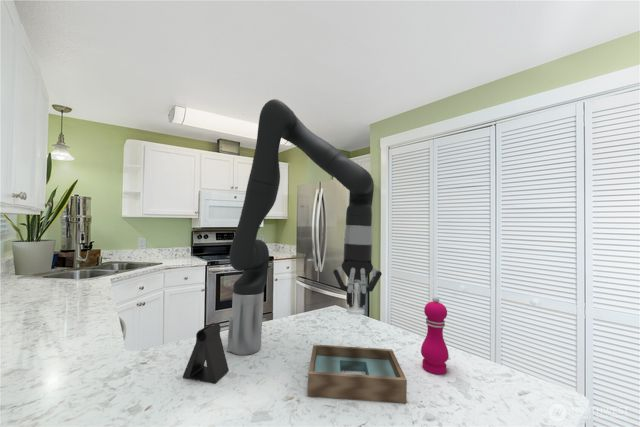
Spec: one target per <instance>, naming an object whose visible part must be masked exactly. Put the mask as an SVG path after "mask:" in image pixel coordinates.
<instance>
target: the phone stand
mask: <svg viewBox="0 0 640 427" xmlns="http://www.w3.org/2000/svg"><path fill="white" fill-rule="evenodd" d="M221 328H222V327H221V324H220V323H219V322H216V323H215V322H212V323H210V324H209V325H206V326H205V327H203V328H201V329H200V330H198V331H197V332H196V333H195V334H196V335H195V338H196V339H195V340H196V341H195V345H194V347H193V349H192V352H191V354H190V357H189V359H188V362H187V364H186V367H185V369H184V372H183V375H182V378H183V379H186V380H190V381H197V382H198V381H199V382H203V383H209V384H217V382H218V381H220V380H221V379H222V378H223V377H224V376H225V375H226V374H227V373H228V372H229V371H230V370H229V366H228V362H227V358H226V357H227V356H226V354H225V350H224V345H223V342H222V337H221ZM205 364H206V365H205Z"/></svg>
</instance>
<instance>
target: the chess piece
mask: <svg viewBox="0 0 640 427" xmlns="http://www.w3.org/2000/svg"><path fill="white" fill-rule="evenodd" d="M359 289H360V281H359V280H354V282H353V289H352V293H354V295H353V298H352V307H349V306H348V307H347V308H346V311H345V312H346V313H347V314H349V315H353V316H354V315H355V316H360V315H361V316H362V315H365V313H366V312H365V309H364V308H362V307H360V306H359V294H360V292H361V290H359Z"/></svg>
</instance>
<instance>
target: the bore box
mask: <svg viewBox="0 0 640 427" xmlns="http://www.w3.org/2000/svg"><path fill="white" fill-rule="evenodd" d="M311 351H312V352H311V357H310V362H309V368H308V373H307V374H308V376H307V395H306V396H307V397H312V398H313V397H314V398H327V399H329V398H330V399H340V400H341V399H342V400H354V401H357V400H358V401H367V402H368V401H369V402H381V403H382V402H384V403H397V404H398V403H399V404H407V390H408V389H407V388H408V387H407V386H408V380H407V377H406V375H405V373H404V371H403V369H402V367H401V365H400V363H399V361H398V358H397V357H396V354H395V352H394V350H393V349H391V348H389V349H388V348H375V347H363V346H362V347H361V346H359V347H356V346H344V345H343V346H342V345H328V344H312V350H311ZM341 371H351V372H352V371H354V372H355V371H356V372H365V374H355V373H354V374H352V373H341Z"/></svg>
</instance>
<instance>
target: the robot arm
mask: <svg viewBox="0 0 640 427" xmlns="http://www.w3.org/2000/svg"><path fill="white" fill-rule="evenodd" d="M256 135H257V137H256V144H255V149H254V154H253V159H252V163H251V168H250V173H249V176H248V180H247V181H248V182H247V186H246V189H245V190H246V191H245V196H244V200H243V205H242V209H241V212H240V217H239V221H238V223H237V227H236V230H235V233H234V236H233V239H232V242H231V245H230V249H229V263H230V265H231V267H232V268H233V269H234V270H235V271H238V272H243V273H242V274H241V276H240V277H239V278H238V279H237V280H235V281H234V283H233V286H232V288H233V289H232V300H231V301H232V302H231V304H232V305H231V306H232V308H231V317H230V318H229V319H228V333H227V349H226V350H227V352H229V353H232V354H235V355H240V356H241V355H242V356H243V355H244V356H246V355H248V356H249V355H252V354H255V353H257V352H259V351H260V350H261V347H262V335H263V334H262V331H263V313H264V312H263V311H264V294H265V292H264V290H265V286H266V285H267V284H266V283H267V280H268V273H269V263H270V252H269V248H268V245H267V243H266V242H265V241H264V240H262V239H257V236H258V232H259V229H260V227H261V225H262V223H263V221H264V220H265V218H266V217H267V216H268V214H269V213H270V211H271V210H272V209H273V207H274V205H275V203H276V200H277V196H278V192H279V187H280V182H281V171H280V160H279V151H280V145H281V144H280V143H281V140H282V139H283V140H284V141H286V142H289V143H290V144H292V145H294V146H296V147H297V148H298V149H300V150H301V151H302V152H303V153H304V154H305V155H306V156H307V157H308V158H309V159H310V160H311V161H312V162H313V163H314V164H316V165H317V166H318V167H319V168H320V169H321V170H323V171H324V172H325V173H327V174H328V175H330V176H331V177H332V178H335V179H336V180H337V181H338V182H339V183H340V184H341V185H342V186H343V187H345V188H346V189H347V190H348V191H349V195H348V196H349V198H348V206H347V208H346V212H345V213H346V215H345V229H344V238H343V242H344V243H343V244H344V245H343V261H342V264H341V265H340V266H339V267H337V268H336V267H334V268H333V270H332V272H333V275H334V276H335V278H336V281H337V284H338V286H339V288H340V290H341V291H343V292H346V301H345V302H346V304H347V305H348V308H349V307H352V305H353V292H352V290H353V288H354V285H353V282H354V281H356V280H357V281H359V282H360V285H359V289H360V292H359V298H358V303H359V306H360V308H362V309H364V308H363V306H365V305H366V299H367V297H366V296H367V295H366V294H367V293H368V292H371V293H372V292H373V291H374V289H375V287H376V285H377V284H378V282H379V280H380V278H381V277H382V272H381V271H380V270H378V269H376V268H374V266H373V264H372V255H373V254H372V251H373V250H372V248H373V231H372V223H373V222H372V220H373V218H372V217H373V213H372V212H373V211H372V207H373V198H374V190H375V189H374V186H375V185H374V183H375V182H374V179H373V177H372V175H371V173H370V172H369V171H368V170H367V169H365V168H364V167H363V166H361V165H360V164H358V163H357V162H355V161H354V160H352V159H350V158H348V156H346V155H345V154H344V153H343V152H342V151H340V150H339V149H338V148H336V147H335V146H334V145H332V144H331V143H330V142H329V141H326V140H325V139H323V138H322V137H320V136H318V135H317V134H315V133H314V132H312V131H311V130H310V129H309V128H307V126H306V125H305V124H304V123H303V122H302V121H301V120H300V119H299V118H298V116H297V115H296V114H295V112H294V111H293V110H292V109H291V108H290V107H289V106H288V105H287V104H286V103H284V102H283V101H281V100H279V99H278V98H277V99H276V98H273V99H270V100H268V101H266V103H265V104H264V105H263V107H262V108H261V110H260V113H259V119H258V126H257V134H256ZM343 271H344V274H345V275H346V277H347V283H346V284H347V285H346V284H345V282H344V281H343V279H342V277H341V276H342V275H343ZM370 274H371V276H372V278H371V279H370V281H369V283H368V285H367V282H366V279H367V277H368V276H369V275H370Z"/></svg>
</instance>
